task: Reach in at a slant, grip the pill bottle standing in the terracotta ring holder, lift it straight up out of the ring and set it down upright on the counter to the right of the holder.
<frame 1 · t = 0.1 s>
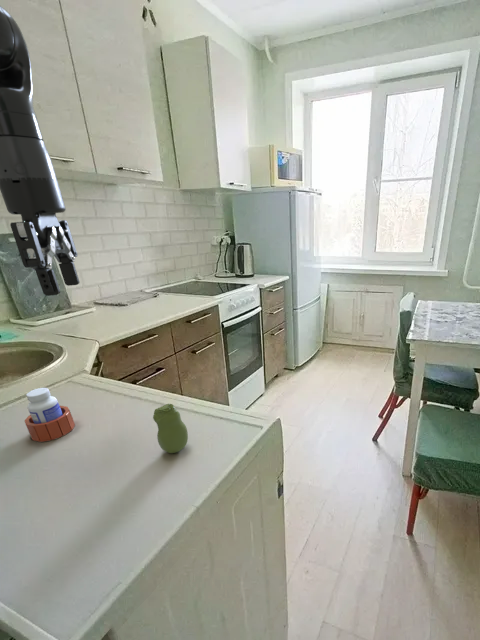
hand: (63, 289, 59), 31 cm above the countertop, tool pointing down, fingers open, 8 cm apart
ring holder: (53, 430, 78), on the countertop
pill bottle: (54, 431, 78), resting in ring holder
pear: (175, 450, 69), on the countertop
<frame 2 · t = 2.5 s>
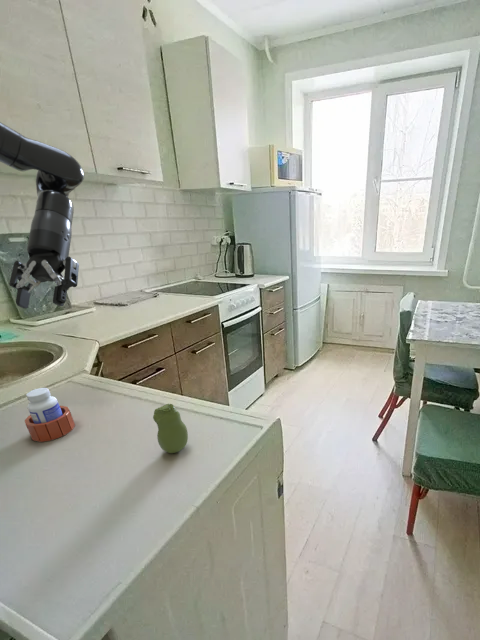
hand: (39, 305, 75), 25 cm above the countertop, tool tilted 40°, fingers open, 8 cm apart
nothing on the countertop moved.
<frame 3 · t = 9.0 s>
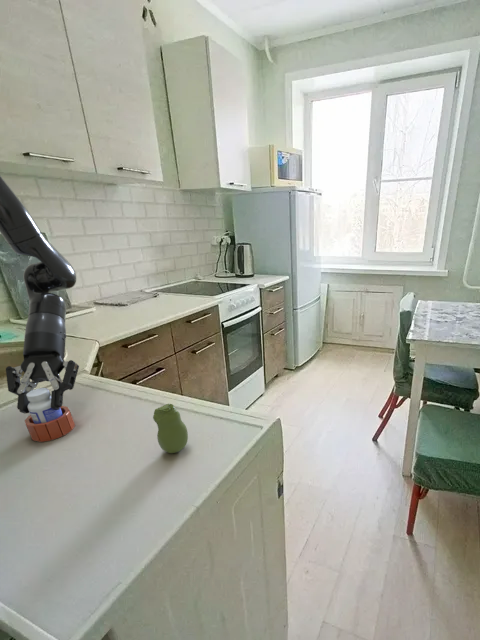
hand: (39, 410, 73), 6 cm above the countertop, tool tilted 45°, fingers closed on pill bottle, 5 cm apart
pill bottle: (54, 431, 78), resting in ring holder, touching gripper
everything else where it was.
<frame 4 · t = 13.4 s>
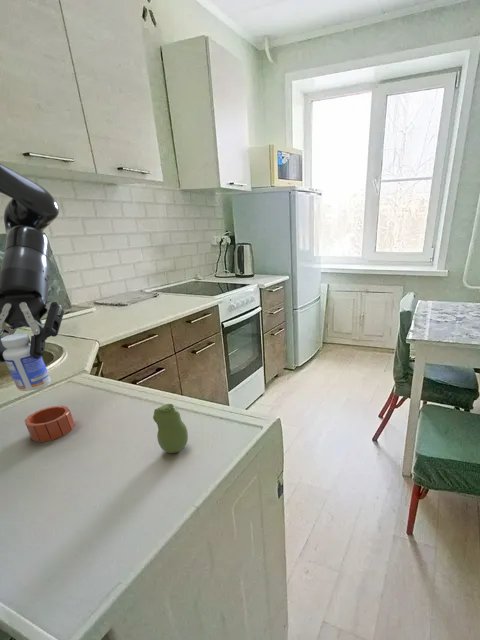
hand: (17, 358, 62), 20 cm above the countertop, tool tilted 45°, fingers closed on pill bottle, 5 cm apart
pill bottle: (35, 386, 67), point 13 cm above the countertop, touching gripper
everything else where it was.
when the fingers open (6 cm above the countertop, at t = 18.0 s): pill bottle stays where it is, on the countertop.
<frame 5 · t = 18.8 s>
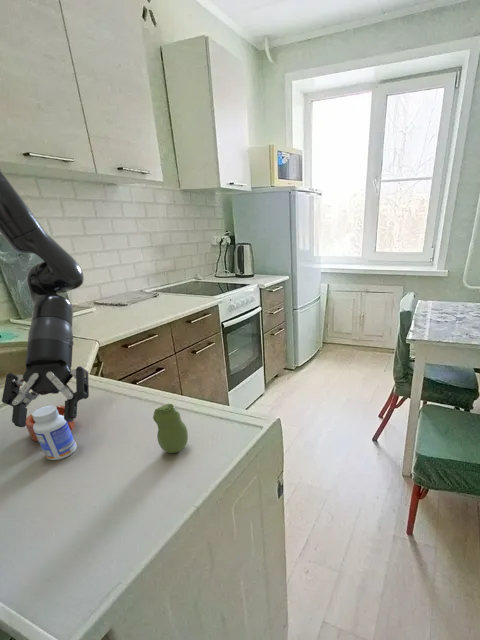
hand: (44, 423, 66), 8 cm above the countertop, tool tilted 45°, fingers open, 8 cm apart
pill bottle: (62, 453, 70), on the countertop
everything else where it was.
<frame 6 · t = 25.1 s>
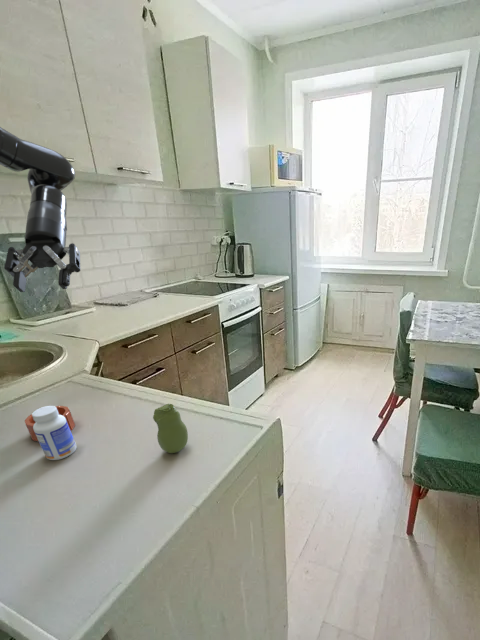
hand: (41, 288, 75), 29 cm above the countertop, tool tilted 45°, fingers open, 8 cm apart
nothing on the countertop moved.
at the end: pill bottle inside the target area (0.2 cm from its centre), on the countertop; pill bottle tilted 0°; the gripper is holding nothing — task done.
